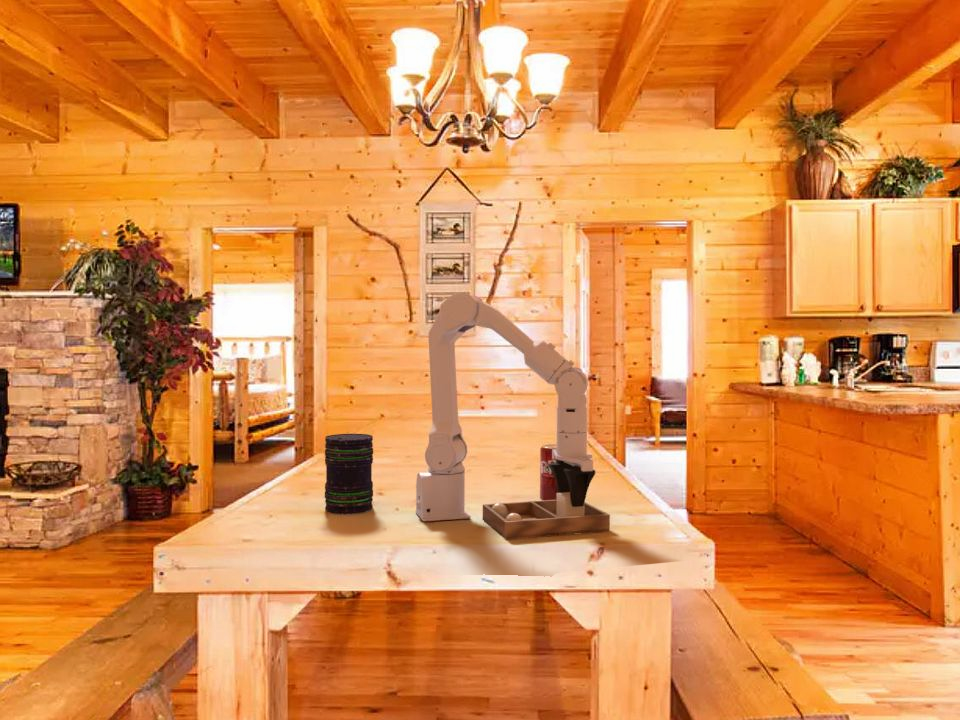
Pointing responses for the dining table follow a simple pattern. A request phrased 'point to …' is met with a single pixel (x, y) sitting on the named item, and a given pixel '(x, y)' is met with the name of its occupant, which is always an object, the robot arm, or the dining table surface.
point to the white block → (567, 506)
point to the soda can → (547, 474)
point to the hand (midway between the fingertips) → (571, 502)
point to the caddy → (544, 520)
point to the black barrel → (348, 473)
